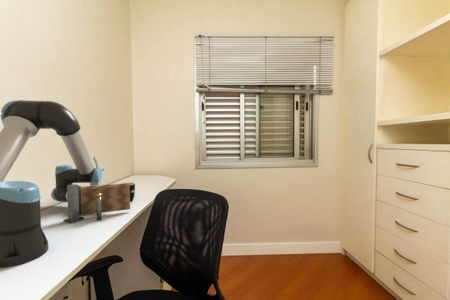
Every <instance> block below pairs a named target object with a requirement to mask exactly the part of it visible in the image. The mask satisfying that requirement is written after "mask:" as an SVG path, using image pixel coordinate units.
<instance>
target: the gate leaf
mask: <svg viewBox="0 0 450 300" xmlns="http://www.w3.org/2000/svg"><path fill="white" fill-rule="evenodd" d="M130 183H131V182H121V183H107V184H106V185H93V186H90V185H78V195H79V217H81V216H85V215H86V216H87V215H94V214H96V196H95V194H96V193H101V214H103V213H109V212H110V213H111V212H119V211H128V210H131V202H130Z"/></svg>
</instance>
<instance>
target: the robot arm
mask: <svg viewBox="0 0 450 300" xmlns="http://www.w3.org/2000/svg"><path fill="white" fill-rule="evenodd" d="M0 112H1V114H0V120H1V122H2V126H3V128H2V129H1V130H0V268H6V267H7V268H8V267H13V266H17V265H21V264H25V263H27V262H31V261H34V260H35V259H38V258H40V257H41V256H43V255H44V254H46V253H47V252H48V251H49V241H48V238H47V236H46V235H45V232H44V230H43V229H42V219H41V194H40V188H39V186H38V185H37V184H36V183H34V182H30V181H25V180H23V181H22V180H8V181H7V180H5V179H6V177H7V176H8V173H9V172H10V171H11V170H12V169H11V168H12V167H13V166H14V164H15V162H16V160H17V159H18V158H19V155H20V154H21V153H22V151H23V149H24V147H25V146H26V144H27V142H28V141H29V139H30V138H33V137H35V136H37V134H38V133H39V131H40V130H41V129H42V130H45V129H47V130H48V129H50V130H51V129H52V130H53V131H54V132H55V133H56V135H58V136H60V137H61V139H62V141H63V143H64V146H65V148H66V149H67V152H68V153H69V155H70V158H71V160H72V162H73V163H74V166H75V168H73V165H71V164H61V165H56V167H55V173H54V175H55V176H54V177H55V187H54V188H53V189H52V191H51V193H50V197H51V199H52V200H54V201H56V202H61V203H62V202H63V203H68V199H67V185H72V184H82V183H83V184H85V183H87V184H90V183H95V182H100V180H101V178H102V171H101V170H100V169H97V168H96V167H95V166H94V164H93V161H92V159H91V157H90V154H89V151H88V149H87V147H86V144H85V141H84V138H83V137H82V135H81V132H80V130H81V126H80V122H79V120H78V119H77V118H76V116H75V115H74V113H72V112H71V110H69V109H68V108H67V107H66V106H64V105H63V104H60V103H59V102H56V101H51V100H45V101H44V100H23V99H19V100H11V101H8V102H7V103H5V104H4V105H3V107H2V108H1V111H0ZM95 168H96V169H95ZM4 180H5V181H4Z"/></svg>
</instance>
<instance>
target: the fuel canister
mask: <svg viewBox="0 0 450 300" xmlns="http://www.w3.org/2000/svg"><path fill="white" fill-rule="evenodd" d="M92 159H93V160H94V163H95V167H94V168H95V169H96V168H97V169H100V170H101V171H102V178H101V180H100V182H95V183H89V186H93V185H106V184H108V181H107V179H108V178H107V167H106V166H100V167H99V166H98V160H97V159H96V157H92Z"/></svg>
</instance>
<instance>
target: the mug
mask: <svg viewBox="0 0 450 300" xmlns="http://www.w3.org/2000/svg"><path fill="white" fill-rule="evenodd" d="M129 183H130V203H131V202H133V201H134V199H135V192H136V183H135V182H129Z"/></svg>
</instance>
